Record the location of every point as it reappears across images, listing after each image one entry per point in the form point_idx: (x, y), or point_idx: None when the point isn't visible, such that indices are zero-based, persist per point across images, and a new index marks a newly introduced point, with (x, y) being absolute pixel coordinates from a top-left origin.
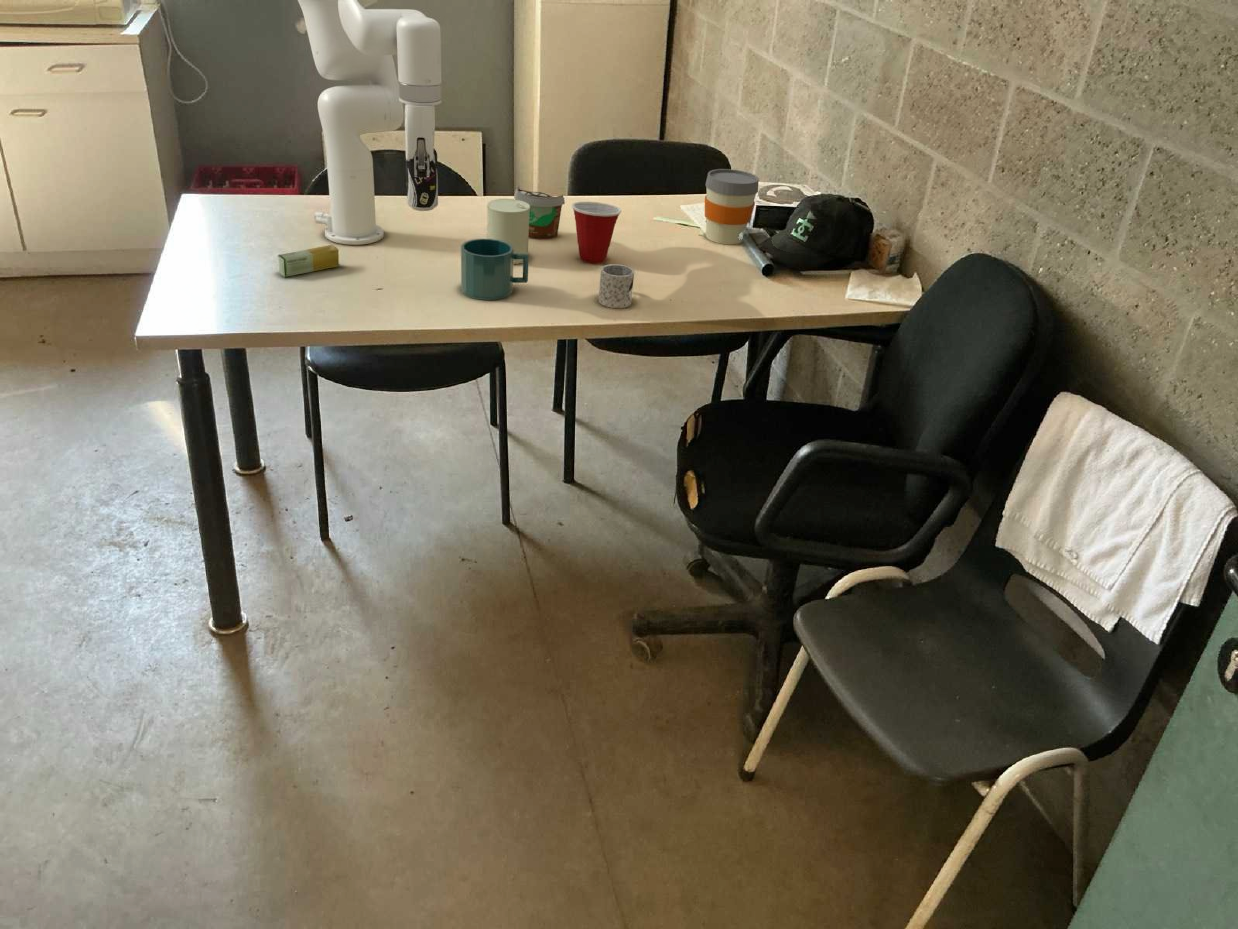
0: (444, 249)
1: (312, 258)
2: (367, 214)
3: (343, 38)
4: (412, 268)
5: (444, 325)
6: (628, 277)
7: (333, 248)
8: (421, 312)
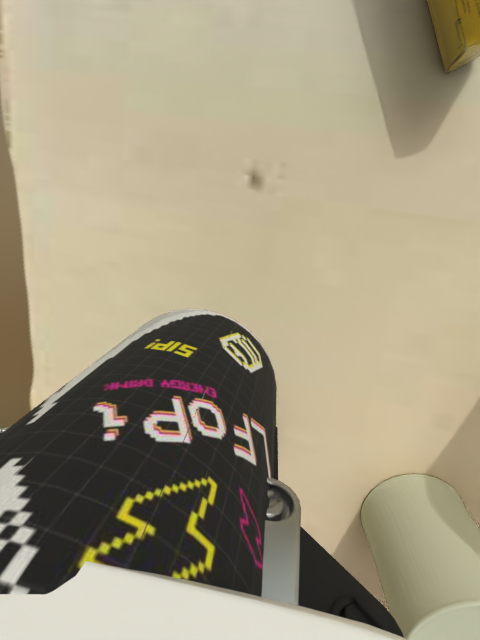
0: None
1: None
2: None
3: None
4: (387, 288)
5: (37, 297)
6: None
7: (475, 28)
8: (105, 261)
